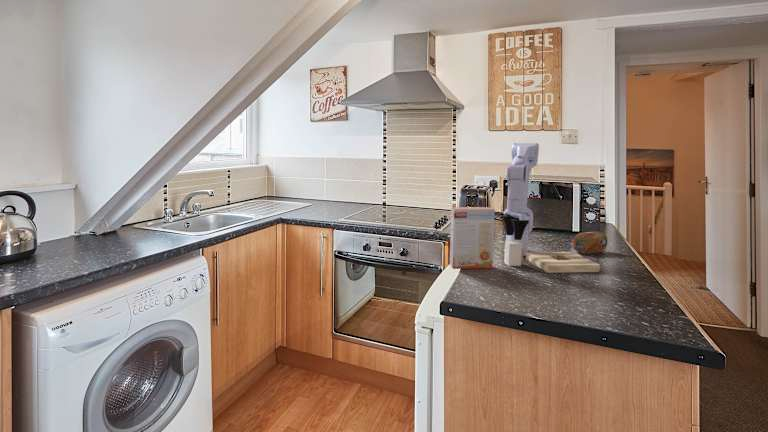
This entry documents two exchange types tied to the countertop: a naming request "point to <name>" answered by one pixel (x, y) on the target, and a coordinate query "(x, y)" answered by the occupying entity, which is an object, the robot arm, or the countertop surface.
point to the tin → (589, 242)
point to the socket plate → (562, 262)
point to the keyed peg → (513, 253)
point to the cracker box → (472, 237)
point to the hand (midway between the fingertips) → (513, 237)
